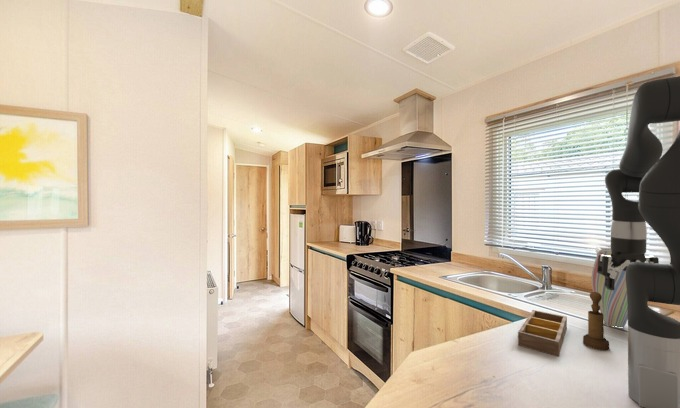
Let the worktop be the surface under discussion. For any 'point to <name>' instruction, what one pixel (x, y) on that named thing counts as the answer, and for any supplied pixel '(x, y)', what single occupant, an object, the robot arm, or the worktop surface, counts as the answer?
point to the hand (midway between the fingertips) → (626, 290)
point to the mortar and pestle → (595, 326)
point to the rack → (543, 332)
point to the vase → (611, 294)
